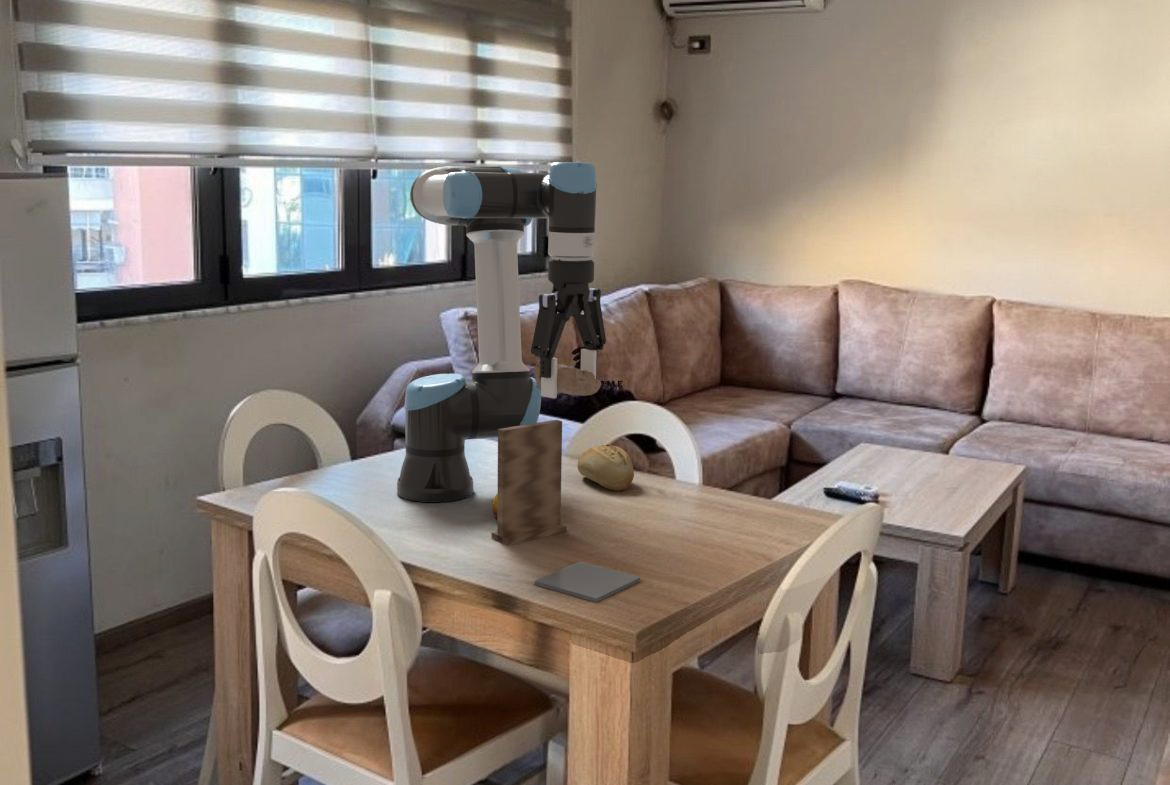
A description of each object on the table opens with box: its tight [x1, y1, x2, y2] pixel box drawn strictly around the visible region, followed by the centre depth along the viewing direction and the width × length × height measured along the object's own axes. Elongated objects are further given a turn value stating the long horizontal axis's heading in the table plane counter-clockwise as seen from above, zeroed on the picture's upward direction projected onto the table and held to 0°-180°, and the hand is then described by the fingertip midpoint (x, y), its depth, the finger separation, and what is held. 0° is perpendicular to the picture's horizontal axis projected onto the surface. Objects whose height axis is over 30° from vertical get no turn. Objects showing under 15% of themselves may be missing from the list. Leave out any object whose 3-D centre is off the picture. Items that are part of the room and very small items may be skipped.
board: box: [491, 419, 567, 546], centre depth 207 cm, size 13×5×20 cm, turn 131°
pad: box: [533, 561, 642, 603], centre depth 186 cm, size 12×12×1 cm
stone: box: [533, 362, 602, 396], centre depth 196 cm, size 9×11×5 cm
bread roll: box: [576, 443, 635, 492], centre depth 243 cm, size 10×15×8 cm, turn 35°
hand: (568, 392), depth 196 cm, fingers closed on stone, 10 cm apart
